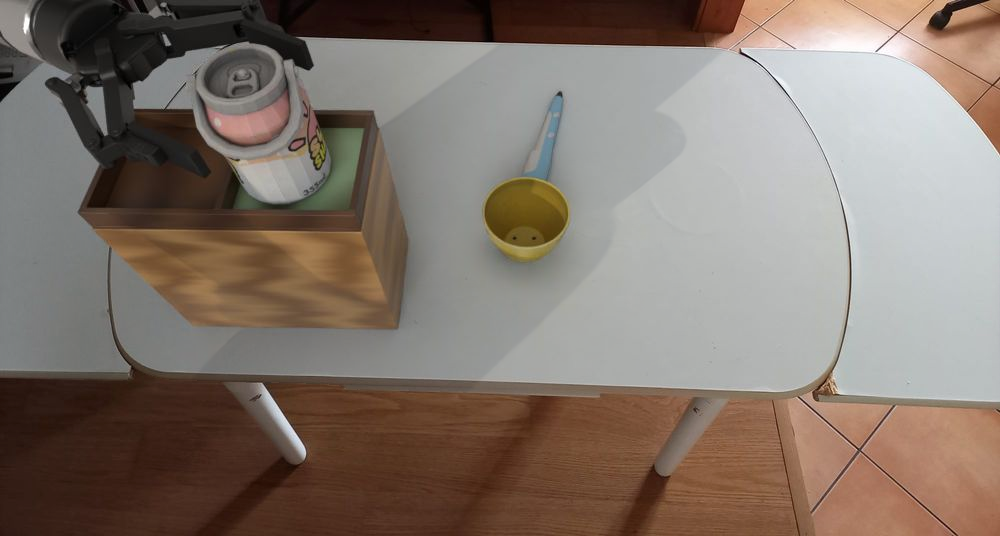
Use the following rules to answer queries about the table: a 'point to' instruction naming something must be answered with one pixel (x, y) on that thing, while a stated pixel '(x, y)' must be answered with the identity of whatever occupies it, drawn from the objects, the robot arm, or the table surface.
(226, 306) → the stand
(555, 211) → the flower pot
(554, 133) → the pen
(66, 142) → the table surface
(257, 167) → the beverage can
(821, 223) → the table surface
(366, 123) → the tray
